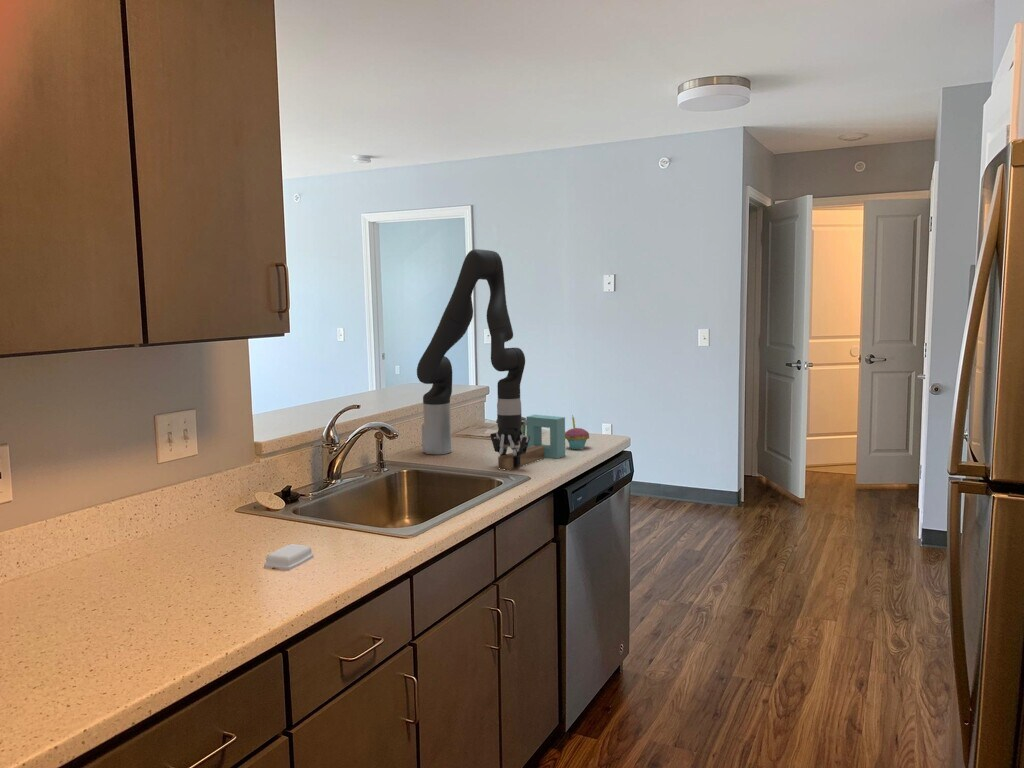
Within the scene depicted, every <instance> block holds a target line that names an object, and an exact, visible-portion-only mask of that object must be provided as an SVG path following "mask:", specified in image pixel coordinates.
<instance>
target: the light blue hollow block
mask: <svg viewBox="0 0 1024 768" xmlns="http://www.w3.org/2000/svg"><path fill="white" fill-rule="evenodd" d="M525 418H526V421H527V425H526V436H529V437H530V439H529V443H528V447H531V446H542V447H544V458H548V457H550V458H551V459H556V458H557V459H560V457H561V458H563V457H566V439H565V433H566V417H564V416H555V415H543V414H532V415H528V416H525ZM543 428H548V429H549V444H543V442H542V441H543V440H542V439H543V438H542V437H543V435H542V429H543ZM528 447H527V448H528ZM557 459H556V460H557Z"/></svg>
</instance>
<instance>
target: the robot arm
mask: <svg viewBox="0 0 1024 768" xmlns="http://www.w3.org/2000/svg"><path fill="white" fill-rule="evenodd" d="M479 280H485V281H487V284H488V287H489V295H490V296H489V302H488V304H487V309H486V323H487V327H488V331H489V335H490V363H491V365H492V367H493V368H494V370H495V371H497V372H507V375H506V376H505V377H503V378H501V379H499V380H498V381H497V403H496V409H497V411H496V413H497V414H496V416H497V418H496V420H497V423H496V424H497V432H492V433H490V439H491V443H492V446H493V449H494V451H495V452H496V453H498V454H499V456H502V455H506V454H508V448H509V447H510V449H511V450H512V452H513V454H514V456H513V463H514V468H516V469H518V467H519V466H520V455H522V454H525V453H526V450H527V447H528V443H529V439H530V437H529V436H527V435H526V434H525V435H523V434H522V432H521V426H522V417H523V416H522V402H521V401H522V400H521V383H522V379H523V375H524V374H523V373H524V370H525V366H526V356H525V353H524V351H523V350H522V349H521V348H519V347H505V343H507V342H509V341H511V340H512V339H513V338H514V331H513V327H512V324H511V319H510V316H509V315H510V314H509V311H508V305H507V298H506V297H507V295H506V286H505V275H504V267H503V260H502V258H501V256H500V254H499V253H498V252H496V251H495V250H488V249H478V248H477V249H476V248H475V249H472V250H470V251H469V252H468V253H467V254H466V256H465V258H464V260H463V262H462V265H461V269H460V272H459V274H458V278H457V281H456V283H455V286H454V288H453V291H452V294H451V295H450V298H449V301H448V303H447V305H446V307H445V309H444V312H443V314H442V316H441V318H440V320H439V323H438V325H437V328H436V330H435V332H434V334H433V336H432V338H431V340H430V341H429V342H430V343H428V345H427V348H426V349H425V351H424V352H423V353H422V356H421V357H420V359H419V362H418V364H417V367H416V375H417V376H416V377H417V379H418V381H419V382H420V383H422V384H425V385H432V387H431V388H430V390H429V391H428V392H426V393H424V394H423V396H422V407H423V409H422V411H423V413H422V414H423V424H421V444H422V445H421V447H422V451H421V452H422V453H425V454H427V455H445V454H449V453H451V452H452V426H451V424H452V423H451V420H452V419H451V396H452V393H453V365H452V363H451V360H450V358H448V357H447V356H445V355H446V353H448V352H449V351H450V349H452V347H454V346H455V345H456V344H457V343H458V342H459V341H460V340H461V339H462V338H463V337H464V335H465V334H466V332H467V331H468V329H469V327H470V324H471V322H472V320H473V317H474V306H473V300H472V294H473V291H474V288H475V286H476V284H477V283H478V281H479ZM498 428H499V429H498ZM499 437H500V439H501V442H500V440H499ZM520 438H521V440H520ZM519 440H520V441H521V445H520V442H519ZM509 445H510V446H509ZM515 445H516V446H515ZM519 468H520V467H519Z"/></svg>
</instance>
